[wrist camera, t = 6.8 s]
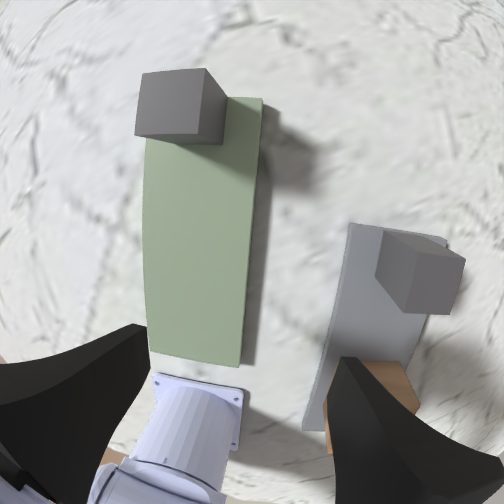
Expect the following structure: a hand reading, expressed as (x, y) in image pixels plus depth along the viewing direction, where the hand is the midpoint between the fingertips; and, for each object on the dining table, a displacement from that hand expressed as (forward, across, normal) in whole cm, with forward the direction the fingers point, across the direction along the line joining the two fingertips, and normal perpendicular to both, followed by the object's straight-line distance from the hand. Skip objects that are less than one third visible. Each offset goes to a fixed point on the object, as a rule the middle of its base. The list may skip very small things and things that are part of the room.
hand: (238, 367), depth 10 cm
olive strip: (+9, +4, -2) cm, 10 cm away
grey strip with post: (+9, -9, +4) cm, 14 cm away
